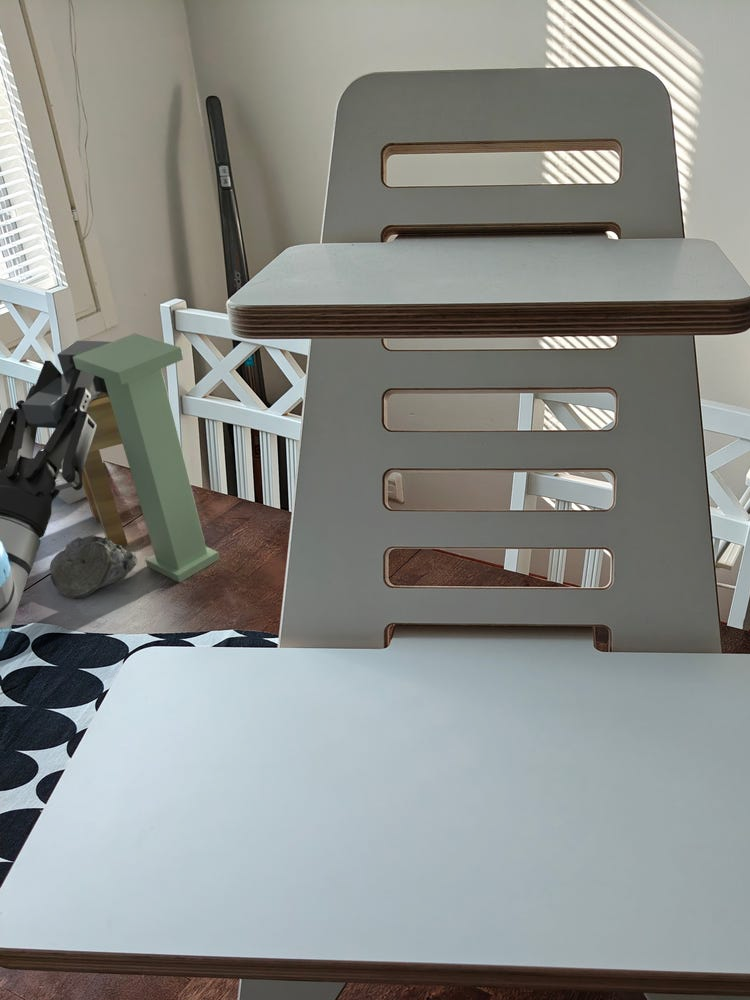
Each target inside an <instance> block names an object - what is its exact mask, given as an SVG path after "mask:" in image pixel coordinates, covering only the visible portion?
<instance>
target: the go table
mask: <svg viewBox="0 0 750 1000" xmlns="http://www.w3.org/2000/svg"><path fill="white" fill-rule="evenodd" d="M86 412H87V413H88V415H89V416H90V417H91V418H92V419H93V421H94V422H95V423H96V424H97V427H96V430H95V434H94V437H93V440H92V443H91V446H90V449H89V453H88V456H87V459H86V462H85V465H84V468H83V472H82V482H83V487H84V490H85V493H86V496H87V497H86V499H87V502H88V506H89V509H90V511H91V514H92V518H93V519H94V521H95V523H100V524H101V528H102V530H103V531H102V532H103V533H104V536H105V537H104V538H105V539H108V540H110V541H112V543H114V544H117V545H121V546H122V547H124V546H128V545H129V543H128V540H127V537H126V533H125V530H124V527H123V524H122V523H123V522H122V520H121V517H120V513H119V510H118V507H117V504H116V501H115V497H114V493H113V491H112V487H111V484H110V480H109V478H108V475H107V471H106V469H105V465H104V460H103V458H102V454H101V452H100V450H103V449H107V448H111V447H115V446H118V445H123V443H122V440H121V436H120V433H119V429H118V426H117V422H116V419H115V415H114V412H113V409H112V405H111V402H110V398H109V395H108V392H102V393H101V394H99V395H98V396H97V397H96V398H95V399H93V400H92V401H91V402H90V403H89V405H88V408H87V410H86ZM102 460H103V461H102Z"/></svg>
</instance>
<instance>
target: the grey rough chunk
mask: <svg viewBox="0 0 750 1000" xmlns="http://www.w3.org/2000/svg"><path fill="white" fill-rule="evenodd" d="M137 564H138V555H137V554H136V552H134V551H129V550H127V549H124V548H123V546H121V545H117V544H114V543H112V541H110V540H108V539H106V537H102V536H96V535H87V536H84V537H80V536H78V537H76V538H75V539H73V540H71V541H70V542H68V543H67V544H66V545H65V549H63V550H60V551H59V552H58V553H57V554H56V555H55V556H54V557H53V559H51V561H50V566H49V572H50V574H49V575H50V579H51V582H52V584H53V586H54V587H55V589H56V590H57V591H58V592H59V593H60V594H62V595H64V596H65V597H68V598H72V599H82V598H85V597H88V596H89V595H91V594H93V593H94V592H95V591H97V590H98V589H99V588H101V587H102V588H103V587H105V586H109V585H111V584H113V583H116V582H117V581H119V580H121V579H123V577H125V576H126V575H128V574H129V573H130V572H131V571H132V570H133V569H134V568H135V567H136V566H137Z"/></svg>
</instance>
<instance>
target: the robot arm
mask: <svg viewBox="0 0 750 1000" xmlns="http://www.w3.org/2000/svg"><path fill="white" fill-rule="evenodd" d="M62 374H63V373H61V372H60V370H59V369H58V367H56V366H55V364H54V363H53V362H52V360H44V363H43V365H42V367H41V370H40V373H39V375H38V378H37V381H36V382H35V385H32V386H31V387H30V388H29V391H28V393H27V396H26V398H25V400H22V399H21V400H18V401H17V402H16V403H15V406H16V407H17V408H15V409H14V408H13V407H8V408H6V409H5V410H4V413H3V415H2V417H1V420H0V651H1V650H2V649H3V647H4V645H5V642H6V640H7V638H8V635H9V633H10V632H12V629H13V627H12V625H13V622H14V620H15V617H16V614H17V611H18V608H19V605H20V601H21V599H22V596H23V594H24V590H25V589H26V588H25V587H26V585H27V582H28V578H29V576H30V574H31V571H32V569H33V566H34V564H35V561H36V559H37V555H38V552H39V550H40V547H41V543H42V540H41V538H43V537H45V533H46V530H47V528H48V525H49V523H50V520H51V517H52V514H53V513H52V512H53V511H52V508H53V507H52V506H53V505H52V504H53V502H54V500H55V499H56V498H57V497H58V494H59V492H60V490H62V489H66V488H69V487H72V488H73V489H74V490H80V489H81V488H82V486H83V482H82V472H83V468H84V465H85V462H86V459H87V456H88V453H89V449H90V446H91V443H92V440H93V437H94V434H95V430H96V427H97V424H96V423H95V422H94V421H93V419H92V418H91V417H90V416H89V415H88V413H87V412H86V410H87V408H88V405H89V402H90V399H91V394H90V393H89V390H90V387H91V384H92V381H93V379H94V376H95V375H92V374H89V373H87V372H84V371H81V370H78V369H76V370H75V373H74V376H73V378H72V381H71V384H70V386H69V389H68V392H67V395H66V397H65V400H64V403H63V405H64V406H65V408H66V409H67V410H66V412H65V414H64V415H63V417H62V419H61V420H60V422H59V424H58V425H57V427H56V428H54V430H53V432H52V434H50V437H49V438H48V440H47V442H46V443H45V444H44V447H43V448H42V449H39V450H38V451H37V453H36V454H35V455H34V451H35V445H36V440H37V434H38V433H37V432H38V427H29V425H28V423H27V420H26V417H25V414H24V411H23V408H22V405H21V404H22V403H24V402H25V401H26V400H28V399H29V398H31V397H32V396H33V395H35V394H36V393H37V392H39V391H40V390H41V389H43V388H44V387H45V386H47V385H48V384H50V383H51V382H52V381H54V380H55V379H56V378H58V377H59V376H60V375H62ZM63 459H64V460H63ZM62 461H63V465H62V464H61V463H62ZM61 468H62V469H61ZM58 473H60V475H59V477H58V478H56V477H57V475H58Z"/></svg>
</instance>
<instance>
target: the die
mask: <svg viewBox="0 0 750 1000" xmlns="http://www.w3.org/2000/svg"><path fill="white" fill-rule="evenodd" d="M63 460H64V459H63ZM102 461H103V462H104V460H103V459H102ZM61 464H62V465H63V461H62V463H61ZM61 469H62V468H61ZM59 475H60V473H58V475H57V477H56V478H58V477H59ZM57 497H58V498H59V499H60V500H62V501H63V502H64V503H66V504H67V505H69V506H70V505H71V504H75V503H76V502H78V501H81V500H83V499H86V498H87V496H86V493H85V490H84V487H83V486H82V488H81V489H80V490H74V489H73V488H72V487H69V488H66V489H62V490H60V492H59V494H58V496H57Z"/></svg>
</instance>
